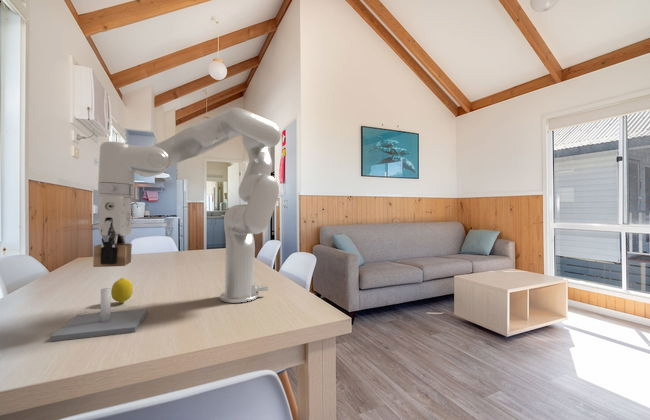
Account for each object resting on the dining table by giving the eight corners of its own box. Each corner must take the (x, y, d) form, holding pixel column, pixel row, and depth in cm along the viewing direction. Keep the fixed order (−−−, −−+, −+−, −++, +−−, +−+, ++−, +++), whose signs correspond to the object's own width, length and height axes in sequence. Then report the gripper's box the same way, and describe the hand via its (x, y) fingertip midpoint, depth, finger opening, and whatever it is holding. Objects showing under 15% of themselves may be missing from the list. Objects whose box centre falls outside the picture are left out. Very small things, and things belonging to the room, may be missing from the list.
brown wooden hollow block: (130, 262, 78) (131, 243, 79) (124, 266, 73) (125, 245, 73) (102, 262, 76) (103, 243, 76) (93, 267, 70) (94, 246, 70)
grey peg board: (147, 312, 83) (147, 280, 83) (135, 331, 70) (135, 293, 70) (77, 319, 78) (78, 284, 78) (50, 341, 64) (51, 299, 65)
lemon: (121, 306, 88) (122, 280, 88) (106, 305, 89) (106, 279, 89) (136, 301, 93) (137, 276, 93) (122, 300, 94) (122, 275, 95)
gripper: (124, 189, 68) (121, 267, 68) (140, 194, 84) (137, 256, 84) (85, 187, 65) (81, 268, 65) (109, 192, 81) (106, 257, 81)
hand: (113, 261), depth 74 cm, fingers closed on brown wooden hollow block, 6 cm apart
